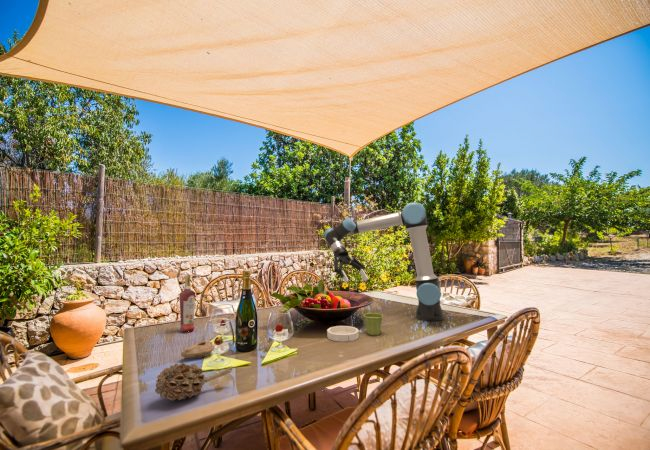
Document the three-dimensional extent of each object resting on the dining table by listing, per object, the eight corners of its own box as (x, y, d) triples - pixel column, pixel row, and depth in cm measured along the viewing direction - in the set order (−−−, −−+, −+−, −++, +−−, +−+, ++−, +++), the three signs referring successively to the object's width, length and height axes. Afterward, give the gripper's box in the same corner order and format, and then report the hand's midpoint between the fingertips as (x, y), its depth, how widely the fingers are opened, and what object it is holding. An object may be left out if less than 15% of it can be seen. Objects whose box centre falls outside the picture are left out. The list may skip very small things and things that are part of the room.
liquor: (185, 334, 152) (185, 276, 153) (175, 332, 156) (176, 275, 157) (198, 330, 158) (198, 274, 160) (189, 328, 162) (189, 273, 164)
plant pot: (382, 331, 155) (382, 313, 155) (384, 336, 145) (384, 317, 146) (363, 330, 156) (363, 312, 156) (364, 336, 146) (363, 317, 147)
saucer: (363, 334, 149) (363, 328, 149) (350, 343, 136) (350, 336, 136) (335, 330, 156) (335, 324, 156) (321, 338, 143) (321, 332, 143)
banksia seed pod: (158, 414, 82) (158, 376, 83) (151, 400, 90) (151, 364, 90) (238, 389, 96) (238, 355, 97) (226, 378, 104) (226, 347, 104)
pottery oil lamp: (175, 358, 120) (179, 339, 124) (205, 361, 127) (208, 343, 131) (185, 355, 115) (189, 335, 119) (215, 359, 122) (218, 340, 126)
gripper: (353, 254, 188) (370, 283, 175) (318, 256, 174) (335, 287, 161) (359, 246, 184) (377, 274, 171) (324, 246, 170) (341, 278, 157)
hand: (357, 280), depth 166 cm, fingers open, 13 cm apart
